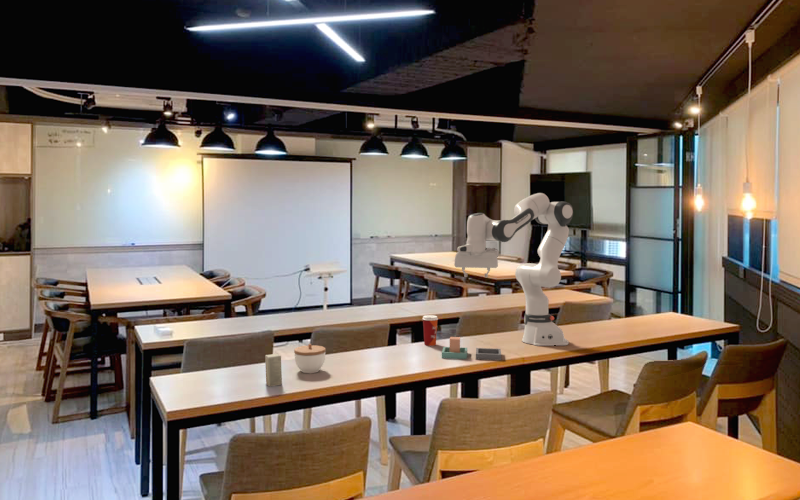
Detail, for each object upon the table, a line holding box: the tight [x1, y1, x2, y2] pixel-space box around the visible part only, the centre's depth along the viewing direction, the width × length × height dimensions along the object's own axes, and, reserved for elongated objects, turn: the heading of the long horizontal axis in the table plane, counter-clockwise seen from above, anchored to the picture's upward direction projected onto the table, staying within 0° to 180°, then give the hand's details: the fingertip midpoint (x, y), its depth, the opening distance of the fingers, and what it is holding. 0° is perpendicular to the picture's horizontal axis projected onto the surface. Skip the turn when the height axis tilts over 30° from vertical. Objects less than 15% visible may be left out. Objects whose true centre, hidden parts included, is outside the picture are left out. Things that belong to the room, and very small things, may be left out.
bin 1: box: [441, 346, 468, 360], centre depth 261 cm, size 11×11×2 cm
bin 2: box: [475, 347, 502, 361], centre depth 258 cm, size 11×11×2 cm
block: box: [449, 336, 461, 353], centre depth 260 cm, size 4×5×8 cm
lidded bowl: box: [293, 343, 327, 374], centre depth 235 cm, size 13×13×11 cm
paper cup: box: [422, 314, 439, 347], centre depth 282 cm, size 8×8×14 cm
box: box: [264, 353, 283, 387], centre depth 216 cm, size 5×4×11 cm
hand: (475, 277), depth 271 cm, fingers open, 8 cm apart
